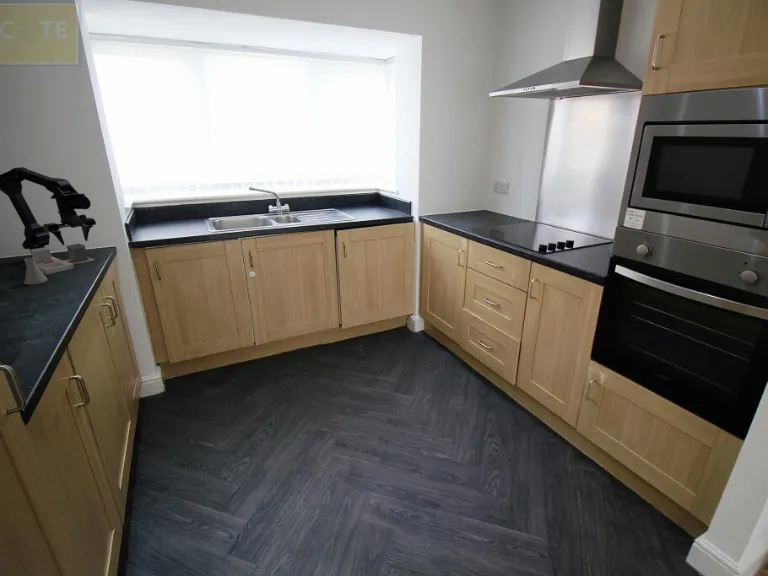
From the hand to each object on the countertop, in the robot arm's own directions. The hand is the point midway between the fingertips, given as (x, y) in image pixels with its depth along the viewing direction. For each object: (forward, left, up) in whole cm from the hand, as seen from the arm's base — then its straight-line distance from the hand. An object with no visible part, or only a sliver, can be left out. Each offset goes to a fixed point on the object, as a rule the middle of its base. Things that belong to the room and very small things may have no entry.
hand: (75, 243), depth 192 cm
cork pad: (0, 0, -9) cm, 9 cm away
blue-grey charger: (-5, -12, -8) cm, 15 cm away
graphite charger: (0, 0, -8) cm, 8 cm away
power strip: (-2, -12, -9) cm, 15 cm away
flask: (+19, -23, -9) cm, 31 cm away
